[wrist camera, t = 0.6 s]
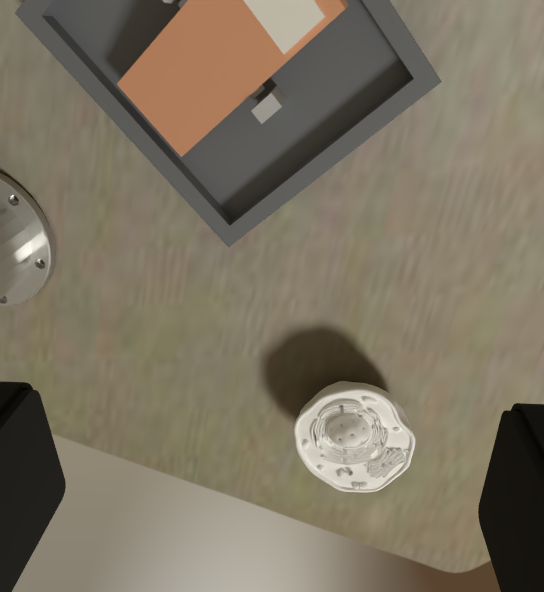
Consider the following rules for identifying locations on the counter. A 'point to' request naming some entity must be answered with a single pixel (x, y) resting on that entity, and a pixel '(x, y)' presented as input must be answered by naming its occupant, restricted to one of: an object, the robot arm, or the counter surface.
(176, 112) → the rocker
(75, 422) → the counter surface
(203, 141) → the breaker panel
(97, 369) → the counter surface
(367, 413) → the cell model
